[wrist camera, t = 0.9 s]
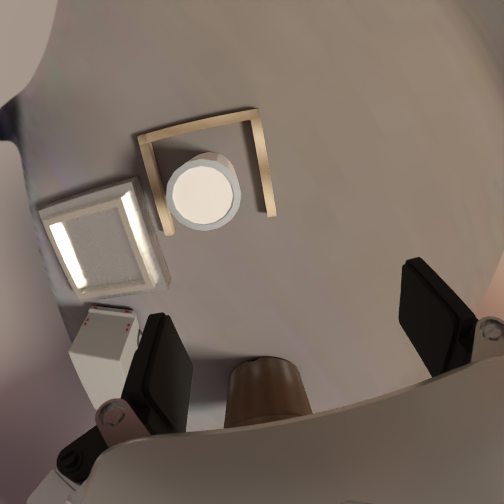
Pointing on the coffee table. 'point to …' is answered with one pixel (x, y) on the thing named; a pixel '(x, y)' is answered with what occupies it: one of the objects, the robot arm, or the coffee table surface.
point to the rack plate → (107, 242)
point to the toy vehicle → (105, 351)
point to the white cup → (204, 192)
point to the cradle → (198, 125)
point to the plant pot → (265, 393)
